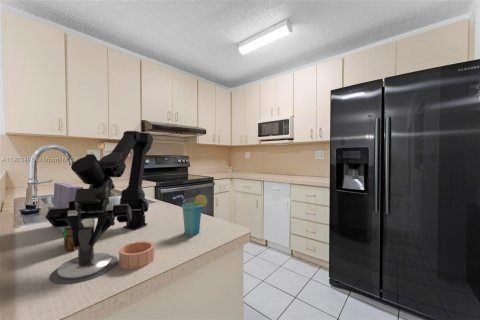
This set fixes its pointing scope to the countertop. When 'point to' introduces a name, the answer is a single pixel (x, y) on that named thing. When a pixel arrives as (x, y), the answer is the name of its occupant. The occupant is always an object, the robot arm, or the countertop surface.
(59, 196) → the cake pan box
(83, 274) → the steel lid
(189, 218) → the cup
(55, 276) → the rubber mat
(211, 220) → the countertop surface
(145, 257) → the terracotta bowl
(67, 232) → the food container
